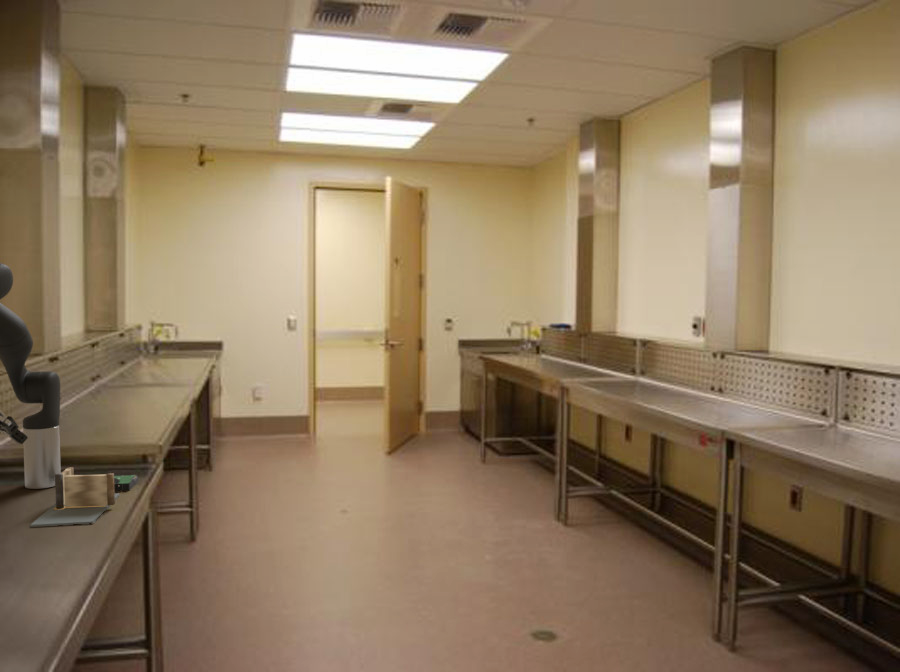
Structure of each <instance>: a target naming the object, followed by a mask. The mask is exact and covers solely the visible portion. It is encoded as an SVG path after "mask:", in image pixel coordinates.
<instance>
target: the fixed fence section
mask: <svg viewBox="0 0 900 672" xmlns="http://www.w3.org/2000/svg"><path fill="white" fill-rule="evenodd" d="M66 475H75V473H74V467H71V466H70V467H66V468H65V470H63V471H61V473H59V474H55V486H54V487H55V504H56V509H62V508H64V505H65V486H64V476H66Z"/></svg>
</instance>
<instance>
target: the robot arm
mask: <svg viewBox="0 0 900 672" xmlns="http://www.w3.org/2000/svg"><path fill="white" fill-rule="evenodd" d="M13 283H14V274H13V271H12V269H11V268H10V266H8V265H6V264H4V263H1V262H0V300H1V299H3V298H5V297H6V296H8V294H10V291H11V290H12V287H13V285H14V284H13ZM33 347H34V340H33V337H32V334H31V333H30V331H29V327H28V326H27V324H26V323H25V321H24V320H23V319H22V318H21V317H20V316H19V315H18V314H17V313H16V312H14V311H12V310H11V309H10V308H8V307H7V306H5V305H4V304H3V303H2V302H0V361H1V363H2V365H3V367H4V370H5V371H6V374H7V376H8V379H9V383H10V384H11V386H12V390H13V392H14V394H15V396H16V399H18V401H19V402H21V403H23V404H42V408H41V410H39V411H38V412H36V413H33V414H31V415H28V416H26V417H25V416H24V418H23V419H22V431H21V430H20V429H18V428H20V426H19V425H18V424H17V422H16V421H15V420H14V418H13V417H12V416H9V415H8V416H7V415H6V414H5V412H4V411H3V410H1V409H0V434H3V435H5V436H8V437H9V438H10V439H12V440H13V441H14V442H16V443H17V444H19V445H23V468H24V487H25V488H26V489H32V490H34V489H35V490H36V489H47V488H48V489H49V488H51V487H52V488H53V487H55V474H59V473H62V471H61V470H62V468H61V441H60V440H61V439H60V436H61V435H60V416H61V379H60V377H59V375H58V373H57V372H55V371H49V370H48V371H30V370H28V369H27V367H26V365H25V364H26V362H27V360H28V358H29V356H30V354H31V352H32V349H33Z"/></svg>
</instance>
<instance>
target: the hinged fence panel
mask: <svg viewBox="0 0 900 672" xmlns="http://www.w3.org/2000/svg"><path fill="white" fill-rule="evenodd" d="M114 475H115V473H111V472H109V473H105V474H74V475H66V476H64V486H65V507H87V506H109V505H110V506H115V504H116V502H115V501H116V500H115V492H116V491H114ZM110 506H109V507H110Z"/></svg>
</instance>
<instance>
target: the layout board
mask: <svg viewBox="0 0 900 672" xmlns="http://www.w3.org/2000/svg"><path fill="white" fill-rule="evenodd" d="M119 497H120V493H119V492H118V493H115V499H116V500H117V499H118V498H119ZM110 506H111V505H109V506H87V507H65V505H64V508H62V509H56V503H54V505H52V506H50V508H49V509H48V510H46V511H45V512H44V513H42V514H41V515H40V516H39V517H38V518H36V519H35V520H34V521H33V522H32V523H30V525H29V526H30V528H40V527H41V528H42V527H43V528H44V527H57V526H58V525H63V526H74V525H73V524H82V525H90V524H89V523H93V524H94V523H96V521H97V520H98V519H99V518H100V517H101V516H102V515H103V514H104V513H105V512H106V511H107V510H108V509H109V507H110ZM104 511H105V512H104ZM103 512H104V513H103ZM102 513H103V514H102ZM101 514H102V515H101ZM100 515H101V516H100ZM99 516H100V517H99ZM98 517H99V518H98ZM97 518H98V519H97ZM96 519H97V520H96ZM58 527H59V526H58Z"/></svg>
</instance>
